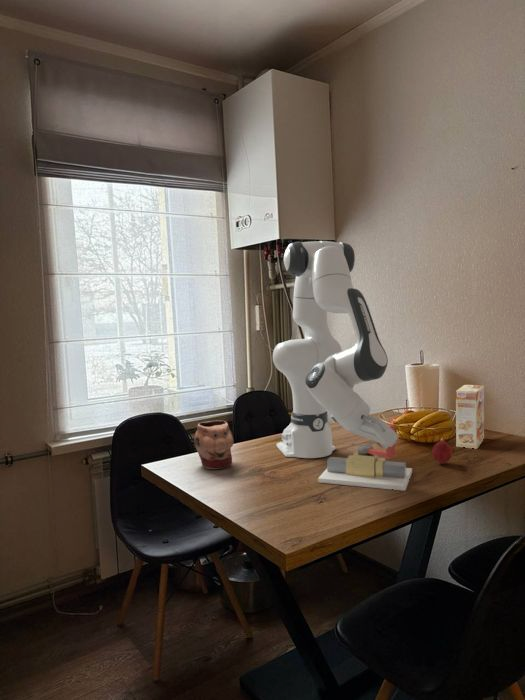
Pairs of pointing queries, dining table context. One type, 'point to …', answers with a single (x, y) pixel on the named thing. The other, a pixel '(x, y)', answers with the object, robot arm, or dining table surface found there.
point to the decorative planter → (214, 444)
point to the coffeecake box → (470, 416)
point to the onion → (442, 451)
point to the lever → (370, 450)
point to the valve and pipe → (366, 466)
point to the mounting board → (366, 480)
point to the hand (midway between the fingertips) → (384, 445)
